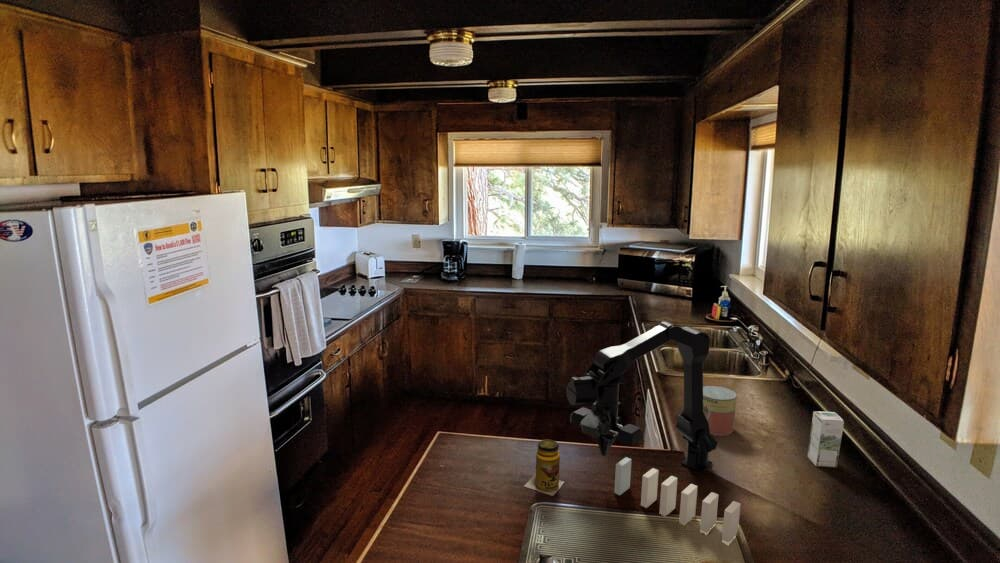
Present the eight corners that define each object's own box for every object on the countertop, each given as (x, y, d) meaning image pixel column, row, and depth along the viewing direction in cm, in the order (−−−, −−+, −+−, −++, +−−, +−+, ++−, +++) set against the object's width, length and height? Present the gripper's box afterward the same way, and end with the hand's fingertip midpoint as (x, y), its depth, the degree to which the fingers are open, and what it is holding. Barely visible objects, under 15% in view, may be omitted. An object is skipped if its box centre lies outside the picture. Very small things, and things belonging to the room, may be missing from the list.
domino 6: (730, 532, 127) (733, 500, 125) (737, 535, 126) (740, 503, 124) (721, 542, 124) (724, 510, 122) (728, 546, 122) (731, 513, 121)
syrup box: (827, 457, 161) (834, 410, 158) (837, 468, 155) (844, 420, 152) (806, 456, 161) (812, 409, 158) (816, 467, 155) (822, 418, 153)
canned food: (688, 422, 183) (691, 387, 180) (717, 418, 186) (720, 384, 183) (710, 437, 172) (714, 401, 170) (741, 433, 175) (744, 397, 173)
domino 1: (624, 485, 146) (626, 457, 144) (629, 487, 145) (631, 459, 143) (614, 493, 142) (615, 464, 141) (619, 495, 141) (621, 466, 139)
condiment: (553, 496, 140) (554, 452, 138) (523, 486, 145) (524, 444, 142) (564, 482, 147) (566, 440, 144) (535, 473, 151) (536, 432, 148)
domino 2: (650, 496, 141) (652, 467, 139) (656, 499, 140) (658, 470, 138) (640, 505, 137) (642, 475, 135) (646, 508, 136) (648, 478, 134)
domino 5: (708, 522, 130) (711, 491, 129) (715, 525, 129) (718, 494, 128) (699, 532, 127) (702, 500, 125) (706, 535, 126) (709, 503, 124)
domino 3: (669, 505, 137) (671, 475, 136) (675, 507, 136) (677, 478, 135) (659, 513, 134) (661, 483, 132) (665, 516, 133) (667, 486, 131)
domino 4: (688, 513, 134) (691, 483, 132) (694, 516, 133) (697, 486, 131) (678, 523, 130) (681, 492, 129) (685, 526, 129) (688, 494, 128)
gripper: (558, 398, 143) (556, 454, 147) (621, 420, 131) (618, 481, 134) (583, 386, 151) (581, 439, 154) (645, 406, 139) (642, 464, 142)
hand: (604, 455), depth 146 cm, fingers closed
